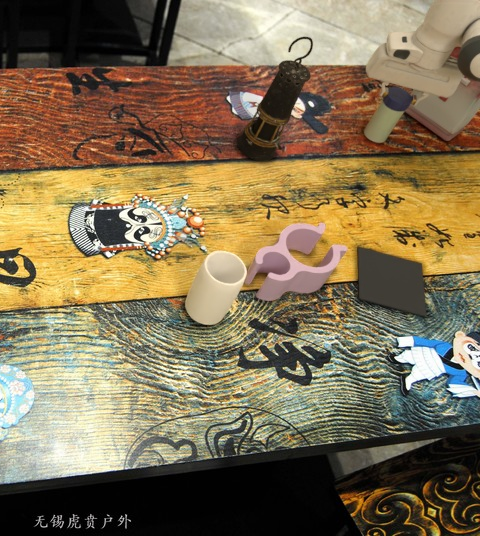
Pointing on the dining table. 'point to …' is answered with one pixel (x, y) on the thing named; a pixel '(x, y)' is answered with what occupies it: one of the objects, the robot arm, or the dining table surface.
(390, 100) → the lid
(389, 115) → the jar
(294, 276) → the clip
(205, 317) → the cup
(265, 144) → the lantern
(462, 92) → the red white cross box
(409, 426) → the dining table surface
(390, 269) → the mat
